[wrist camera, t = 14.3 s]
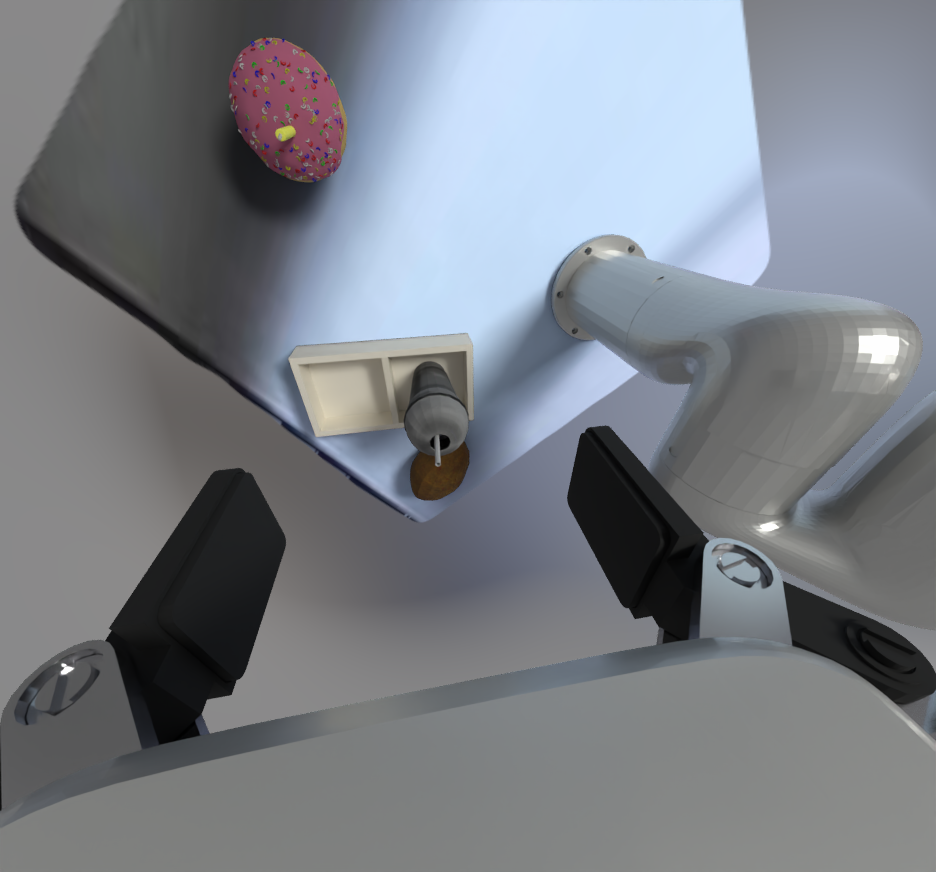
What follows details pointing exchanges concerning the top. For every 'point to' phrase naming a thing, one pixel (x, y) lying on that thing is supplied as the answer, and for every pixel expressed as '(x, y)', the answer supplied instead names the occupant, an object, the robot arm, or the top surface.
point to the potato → (438, 473)
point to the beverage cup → (435, 412)
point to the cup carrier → (375, 379)
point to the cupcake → (288, 110)
